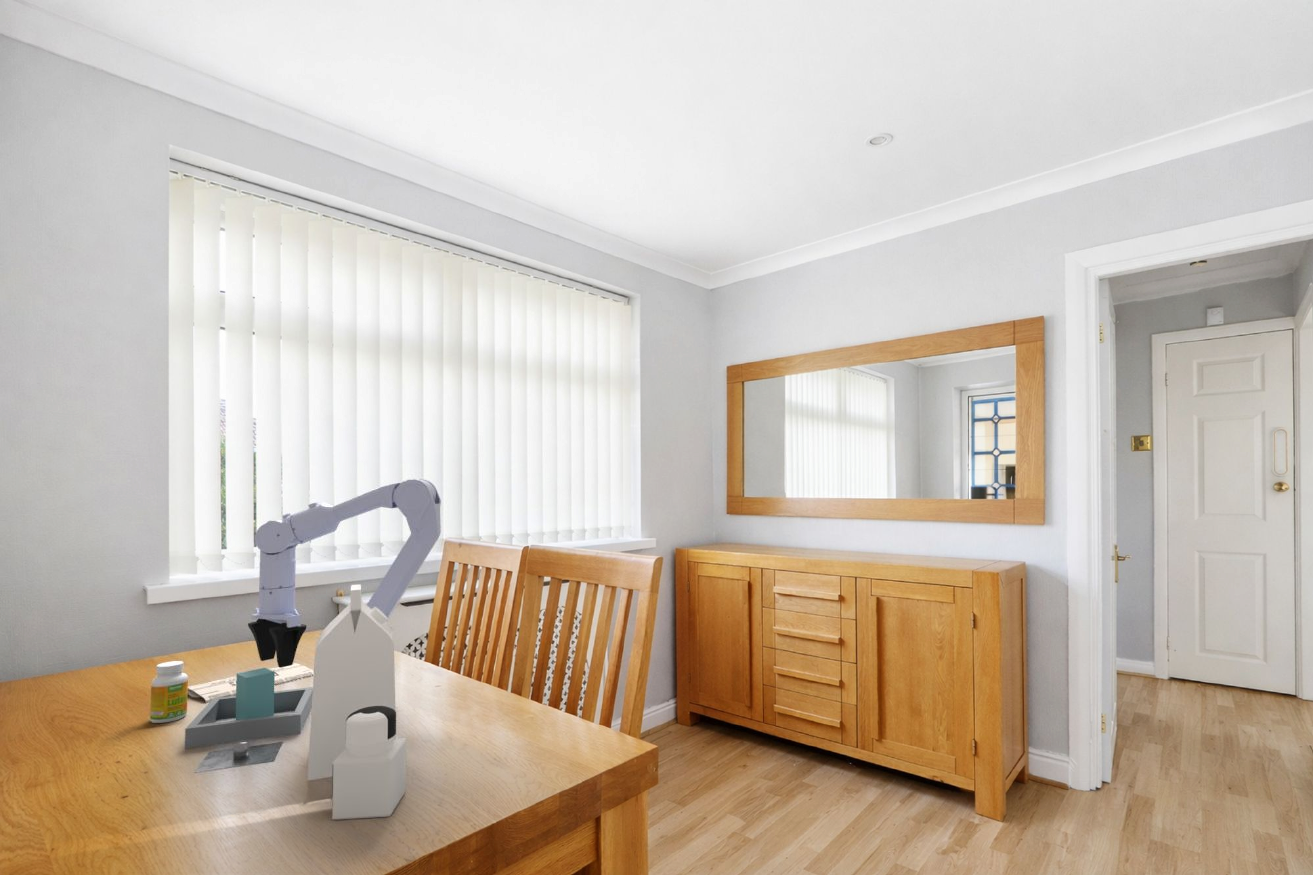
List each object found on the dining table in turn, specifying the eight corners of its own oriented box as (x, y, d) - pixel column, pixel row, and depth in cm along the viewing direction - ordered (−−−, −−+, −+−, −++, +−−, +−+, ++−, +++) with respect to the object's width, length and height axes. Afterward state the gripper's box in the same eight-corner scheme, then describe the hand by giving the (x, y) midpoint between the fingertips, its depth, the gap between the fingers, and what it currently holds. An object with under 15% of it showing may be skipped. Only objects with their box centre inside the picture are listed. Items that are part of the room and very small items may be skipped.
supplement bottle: (167, 724, 117) (169, 668, 118) (142, 723, 118) (143, 667, 119) (194, 714, 122) (195, 660, 123) (169, 712, 123) (171, 659, 124)
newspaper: (288, 669, 154) (289, 658, 154) (316, 683, 147) (317, 672, 147) (173, 695, 135) (174, 683, 135) (199, 713, 128) (200, 699, 128)
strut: (263, 719, 117) (264, 667, 117) (273, 725, 114) (274, 671, 115) (235, 727, 113) (236, 673, 114) (244, 733, 111) (246, 677, 111)
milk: (313, 756, 102) (316, 584, 104) (394, 743, 107) (395, 579, 109) (307, 788, 91) (309, 596, 93) (397, 772, 96) (398, 589, 98)
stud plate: (283, 748, 106) (283, 728, 106) (273, 768, 98) (274, 747, 98) (209, 758, 102) (209, 738, 102) (193, 779, 95) (194, 758, 95)
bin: (313, 708, 124) (313, 686, 124) (300, 739, 109) (300, 714, 109) (212, 721, 118) (213, 698, 119) (184, 755, 103) (185, 728, 104)
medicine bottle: (352, 794, 89) (353, 702, 90) (406, 791, 90) (407, 700, 91) (330, 821, 82) (332, 721, 83) (390, 817, 83) (391, 718, 84)
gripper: (237, 586, 123) (235, 661, 122) (270, 593, 114) (269, 674, 113) (278, 581, 128) (276, 653, 127) (313, 587, 119) (312, 665, 118)
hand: (276, 662), depth 120 cm, fingers open, 7 cm apart
